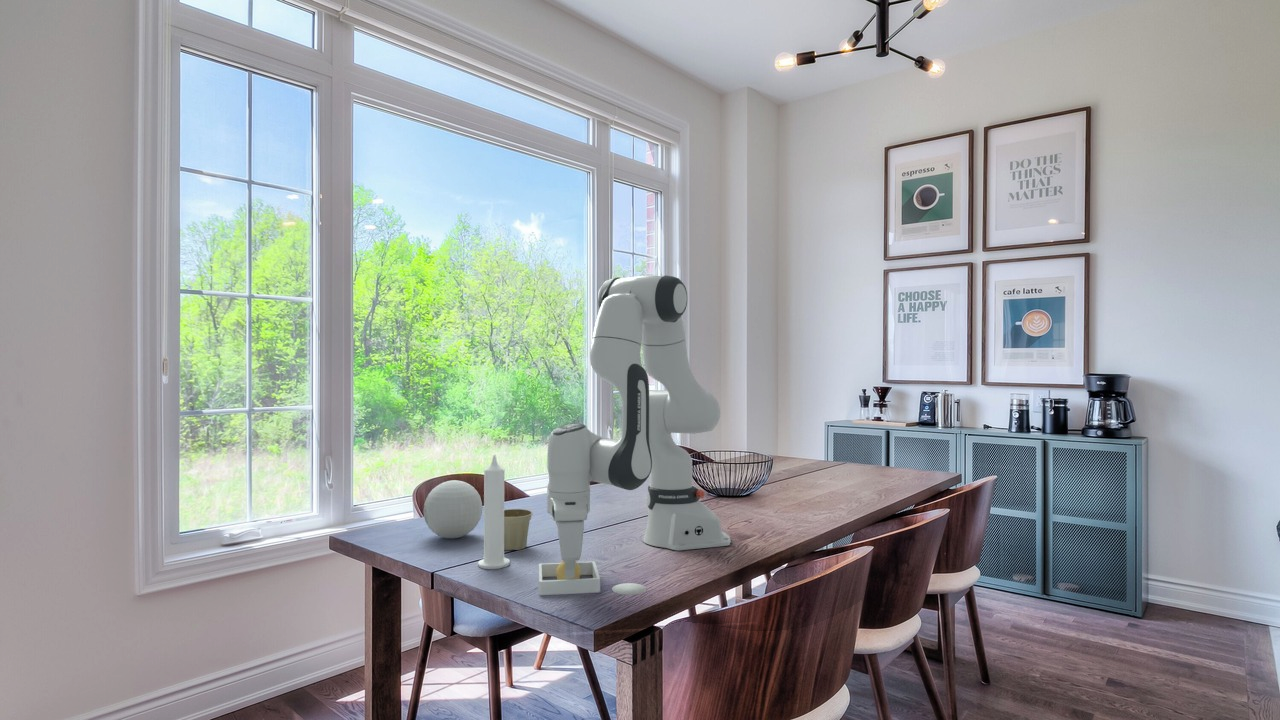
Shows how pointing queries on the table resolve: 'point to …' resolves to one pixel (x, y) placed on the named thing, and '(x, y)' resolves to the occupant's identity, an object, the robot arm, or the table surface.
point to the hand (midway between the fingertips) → (568, 570)
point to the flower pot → (516, 528)
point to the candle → (494, 518)
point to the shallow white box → (569, 580)
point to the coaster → (629, 589)
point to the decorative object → (452, 509)
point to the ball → (561, 571)
